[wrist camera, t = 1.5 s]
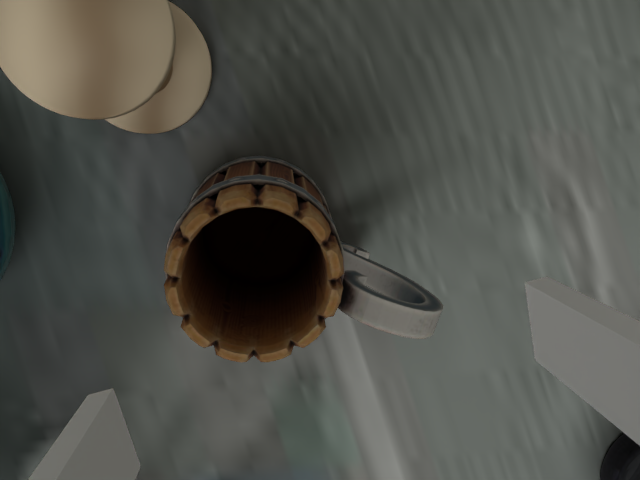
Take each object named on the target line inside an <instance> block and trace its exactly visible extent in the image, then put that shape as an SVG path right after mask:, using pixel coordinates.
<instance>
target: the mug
mask: <svg viewBox="0 0 640 480" xmlns="http://www.w3.org/2000/svg"><path fill="white" fill-rule="evenodd" d="M293 172H294V173H293ZM369 254H370V253H369V252H367V251H365V250H364V249H361V248H359V247H356V246H354V245H351V244H347V243H344V242H341V241H340V239H339V236H338V233H337V230H336V227H335V225H334V222H333V220H332V217H331V214H330V211H329V208H328V205H327V203H326V200H325V197H324V195H323V193H322V192H321V190H320V189H319V188H318V186H317V185H316V183H315V182H314V180H313V179H312V178H310V177H309V176H308V175H307V174H306V173H304V172H303V171H302V170H301V169H300V168H299V167H297V166H294V165H292V164H290V163H288V162H286V161H284V160H282V159H277V158H272V157H266V156H253V157H242V158H239V159H236V160H234V161H231V162H228V163H225V164H223V165H222V166H220V167H219V168H218V169H216V170H215V171H213V172H212V173H211V174H209V175H208V176H207V177H206V178H205V180H204V181H203V182H202V183H201V185H200V186H199V187H198V188H197V189H196V191H195V192H194V194H193V196H192V199H191V201H190V203H189V206H188V207H187V209H186V210H185V211H184V212H183V213H182V215H181V216H180V218H179V219H178V221H177V223H176V225H175V227H174V229H173V232H172V234H171V236H170V239H169V241H168V243H167V249H166V256H165V265H164V271H165V276H166V282H165V284H164V288H165V294H166V301H167V303H168V305H169V307H170V309H171V311H172V313H173V315H177V316H181V317H183V321H182V324H181V328H182V329H183V330H184V331H185V332H186V334H187V335H188V336H189V337H190V339H192V340H193V341H194V342H196V343H197V344H198V345H199V346H201V347H203V348H205V347H209V346H212V345H214V348H215V351H216V355H218V356H220V357H222V358H224V359H228V360H231V361H236V362H247V361H248V360H249V359H250V358H251V357H252V356H253V355H254V356H255V357H256V358H257V359H259V360H260V361H261V362H270V361H275V360H279V359H282V358H285V357H287V356H289V355H291V352H292V349H293V346H294V345H295V346H299V347H302V348H304V347H306V346H307V345H309V344H310V343H311V342H313V341H314V340H315V339H317V337H318V336H319V335H320V334H321V333H322V331H323V330H324V329H325V328H326V325H325V319H326V318H327V317H331V316H334V314H335V312H336V310H337V308H339V309H340V310H341V311H342V312H344V313H345V314H347V315H348V316H350V317H352V318H354V319H356V320H357V321H359V322H361V323H364V324H366V325H368V326H371V327H373V328H376V329H379V330H382V331H385V332H388V333H391V334H395V335H399V336H402V337H408V338H414V339H426V338H429V337H431V336H432V335H433V333H434V330H435V328H436V325H437V322H438V320H439V317H440V314H441V312H442V309H443V305H442V303H441V302H440V301H439V299H438V298H436V297H435V296H434V295H433V294H431V293H430V292H429V291H427V290H426V289H424V288H423V287H422V286H420V285H419V284H417V283H415V282H414V281H412V280H410V279H409V278H407V277H405V276H403V275H401V274H399V273H397V272H395V271H393V270H391V269H389V268H387V267H385V266H383V265H380V264H378V263H376V262H374V261H371V260H369V259H368V257H369ZM365 285H366V286H368V287H370V288H372V289H374V290H376V291H378V292H380V293H382V294H380V293H378V292H376V291H374V290H371V289H370V288H368V287H366V286H365Z"/></svg>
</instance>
